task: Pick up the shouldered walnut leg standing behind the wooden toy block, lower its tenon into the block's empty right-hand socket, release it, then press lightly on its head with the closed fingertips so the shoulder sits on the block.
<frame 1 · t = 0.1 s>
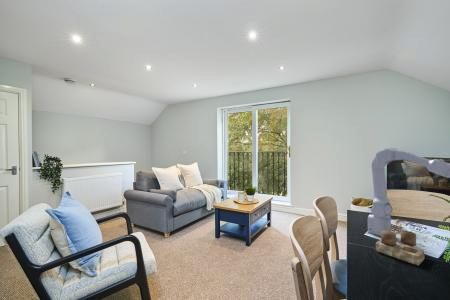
wooden toy block: (399, 254, 87), on the table
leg: (408, 250, 90), on the table
toy rocket: (379, 221, 123), on the table
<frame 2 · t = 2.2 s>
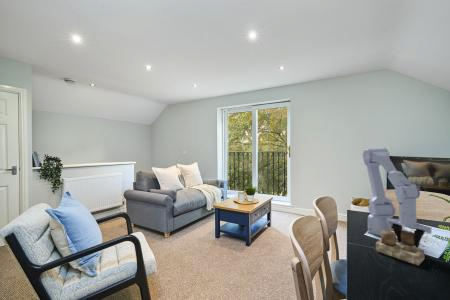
hand: (408, 244, 90), 3 cm above the table, fingers closed on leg, 5 cm apart
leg: (408, 250, 90), on the table, touching gripper
everything else where it was.
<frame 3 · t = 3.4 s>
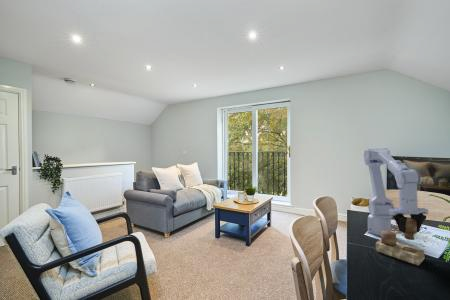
hand: (409, 231, 86), 10 cm above the table, fingers closed on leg, 5 cm apart
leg: (409, 238, 86), point 7 cm above the table, touching gripper
everything else where it was.
when the fingers open (5 cm above the table, at t = 5.0 s): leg drops 2 cm, resting on wooden toy block.
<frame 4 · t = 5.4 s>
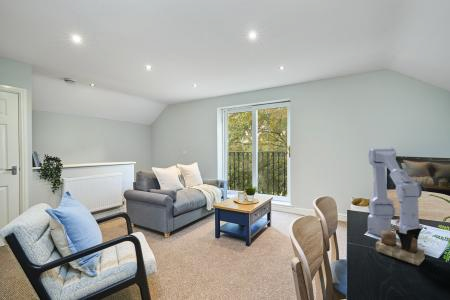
hand: (409, 246, 83), 5 cm above the table, fingers open, 7 cm apart
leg: (409, 256, 84), resting on wooden toy block
everything else where it was.
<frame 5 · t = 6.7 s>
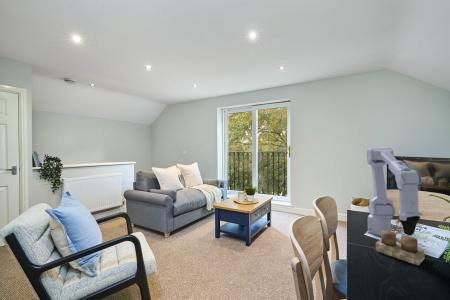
hand: (409, 234, 83), 10 cm above the table, fingers closed
nothing on the table moved.
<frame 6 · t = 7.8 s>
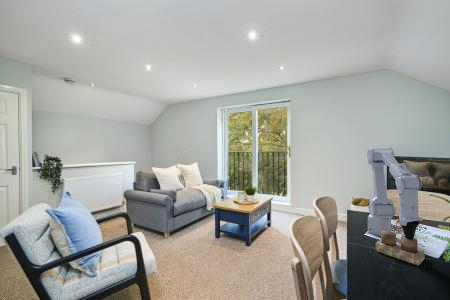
hand: (409, 238, 83), 8 cm above the table, fingers closed
nothing on the table moved.
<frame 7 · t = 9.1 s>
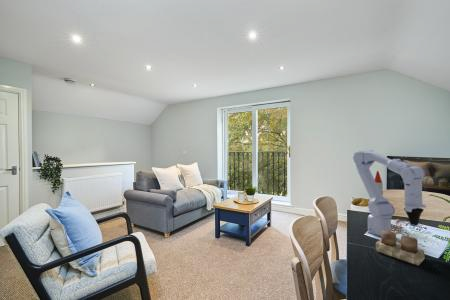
hand: (414, 224, 91), 10 cm above the table, fingers closed
nothing on the table moved.
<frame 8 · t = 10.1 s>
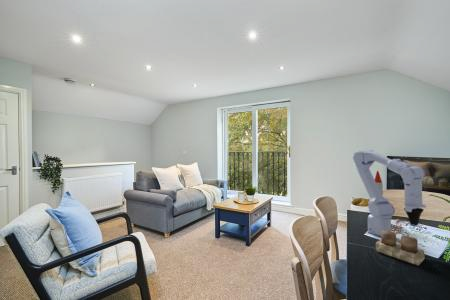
hand: (414, 224, 91), 10 cm above the table, fingers closed
nothing on the table moved.
at the end: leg 0.1 cm from the target spot on the wooden toy block, point 0.5 cm above the wooden toy block's base; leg tilted 0°; the gripper is holding nothing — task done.
